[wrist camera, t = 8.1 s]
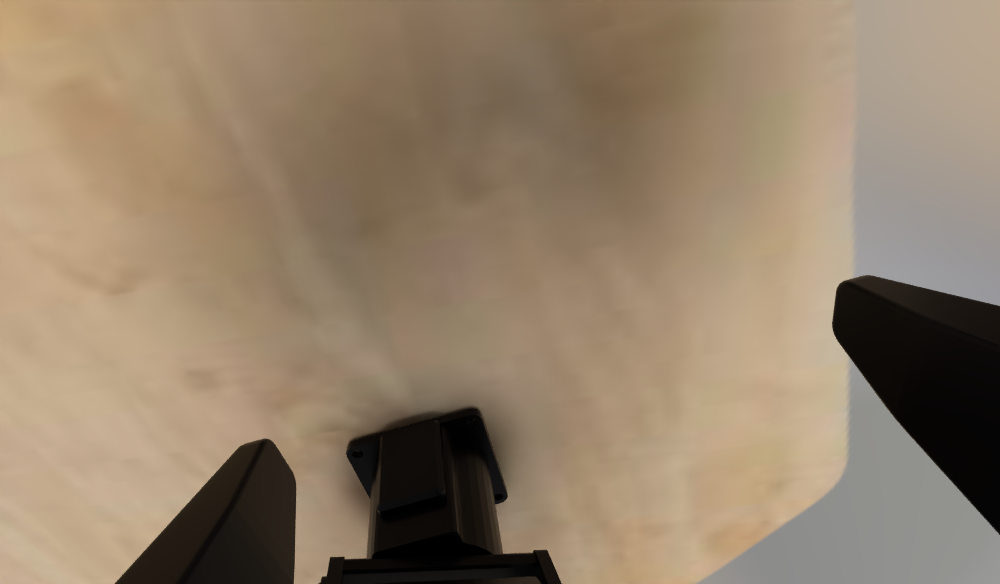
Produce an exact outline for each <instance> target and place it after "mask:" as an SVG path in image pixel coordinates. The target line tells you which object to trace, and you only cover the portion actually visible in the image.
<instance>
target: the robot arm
mask: <svg viewBox="0 0 1000 584" xmlns="http://www.w3.org/2000/svg"><path fill="white" fill-rule="evenodd" d="M832 327H833V332H834V335H835V337H836V339H837V341H838V342H839V343H840V345H841V346H842V347H843V349H844V350H845V352H846V353H847V354H848V356H849V357H850V358H851V360H852V361H853V362H854V364H855V365H856V367H857V368H858V369H859V371H860V372H861V373H862V375H863V376H864V378H865V379H866V380H867V382H868V383H869V384H870V386H871V387H872V388H873V390H874V391H875V393H876V394H877V395H878V397H879V398H880V399H881V401H882V402H883V403H884V405H885V406H886V407H887V409H888V410H889V411H890V412H891V414H892V415H893V416H894V418H895V419H896V420H897V421H898V422H899V423H900V425H901V426H902V427H903V428H904V429H905V430H906V432H907V433H908V434H909V435H910V436H911V437H912V438H913V439H914V440H915V441H916V443H917V444H918V445H919V446H920V447H921V448H922V449H923V450H924V452H925V453H926V454H927V455H928V456H929V457H930V458H931V459H932V460H933V462H934V463H935V464H936V465H937V466H938V467H939V468H940V469H941V470H942V471H943V472H944V474H945V475H946V476H947V477H948V478H949V479H950V480H951V481H952V482H953V484H954V485H955V486H956V487H957V488H958V489H959V490H960V491H961V492H962V493H963V495H964V496H965V497H966V498H967V499H968V500H969V501H970V502H971V504H972V505H973V506H974V507H975V508H976V509H977V510H978V511H979V512H980V514H981V515H982V516H983V517H984V518H985V519H986V520H987V521H988V522H989V523H990V525H991V526H992V527H993V528H994V529H995V530H996V531H997V532H998V533H999V535H1000V306H997V305H993V304H989V303H985V302H980V301H976V300H972V299H968V298H964V297H959V296H955V295H951V294H947V293H943V292H938V291H934V290H930V289H926V288H922V287H917V286H913V285H909V284H905V283H901V282H896V281H892V280H888V279H884V278H880V277H875V276H870V275H865V276H860V277H857V278H853V279H849V280H846V281H843V282H842V283H840V284H839V286H838V287H837V290H836V297H835V305H834V313H833V321H832ZM469 419H475V420H473V421H468V420H469ZM355 450H360V451H359V452H357V451H355ZM346 454H347V458H348V459H349V461H350V463H351V465H352V467H353V469H354V470H355V472H356V474H357V476H358V478H359V479H360V481H361V483H362V485H363V487H364V489H365V490H366V492H367V494H368V496H369V498H370V500H371V501H370V516H369V530H368V544H367V559H345V557H330V561H329V567H328V573H327V576H325V577H322V579H321V582H320V583H319V584H562V583H561V581H560V579H559V576H558V574H557V572H556V570H555V567H554V565H553V563H552V560H551V558H550V556H549V553H548V551H547V550H534V551H533V553H510V554H503V550H502V544H501V538H500V532H499V526H498V519H497V513H496V507H495V504H499V503H502V502H504V501H505V500H506V499H507V497H508V496H507V490H506V486H505V483H504V480H503V477H502V474H501V471H500V468H499V465H498V462H497V459H496V456H495V453H494V450H493V447H492V444H491V441H490V438H489V435H488V432H487V429H486V426H485V423H484V420H483V417H482V414H481V413H480V411H478V410H476V409H468V410H464V411H460V412H457V413H453V414H449V415H446V416H442V417H438V418H435V419H431V420H427V421H424V422H420V423H417V424H413V425H409V426H406V427H402V428H398V429H395V430H391V431H387V432H384V433H380V434H376V435H373V436H369V437H365V438H362V439H358V440H354V441H352V442H350V443H349V444H348V447H347V453H346ZM295 520H296V481H295V477H294V474H293V472H292V470H291V469H290V467H289V465H288V464H287V462H286V461H285V459H284V458H283V456H282V454H281V453H280V451H279V450H278V448H277V447H276V445H275V444H274V443H273V441H271V440H270V439H261V440H257V441H254V442H250V443H246V444H244V445H242V446H240V447H239V448H238V449H237V450H236V451H235V452H234V453H233V454H232V455H231V457H230V458H229V459H228V460H227V461H226V462H225V463H224V464H223V465H222V466H221V468H220V469H219V470H218V471H217V472H216V473H215V474H214V475H213V476H212V477H211V479H210V480H209V481H208V482H207V483H206V484H205V485H204V486H203V487H202V488H201V490H200V491H199V492H198V493H197V494H196V495H195V496H194V497H193V498H192V499H191V500H190V502H189V503H188V504H187V505H186V506H185V507H184V508H183V509H182V510H181V511H180V513H179V514H178V515H177V516H176V517H175V518H174V519H173V520H172V521H171V522H170V524H169V525H168V526H167V527H166V528H165V529H164V530H163V531H162V532H161V533H160V535H159V536H158V537H157V538H156V539H155V540H154V541H153V542H152V543H151V544H150V545H149V547H148V548H147V549H146V550H145V551H144V552H143V553H142V554H141V555H140V556H139V558H138V559H137V560H136V561H135V562H134V563H133V564H132V565H131V566H130V567H129V569H128V570H127V571H126V572H125V573H124V574H123V575H122V576H121V577H120V578H119V579H118V581H117V582H116V583H115V584H294V564H295Z"/></svg>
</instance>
